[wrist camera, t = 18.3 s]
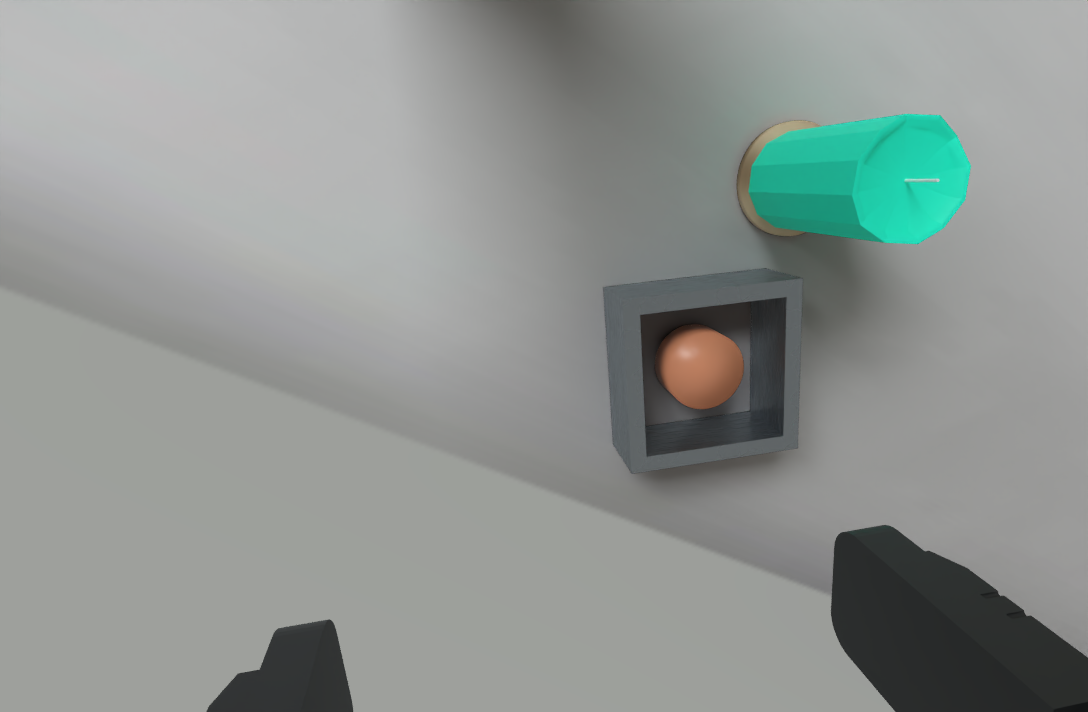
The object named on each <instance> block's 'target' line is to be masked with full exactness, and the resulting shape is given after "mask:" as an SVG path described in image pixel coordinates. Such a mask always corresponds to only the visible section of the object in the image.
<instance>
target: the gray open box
mask: <svg viewBox="0 0 1088 712" xmlns="http://www.w3.org/2000/svg"><path fill="white" fill-rule="evenodd" d="M603 290H604V307H605V323H606V339H607V355H608V371H609V387H610V403H611V419H612V435H613V445H614V447H615V448H616V450H617V451H618V453H619V455H620V456H621V458H622V459H623V461H624V463H625V464H626V466H627V467H628V469H629V470H630V472H631V474H634V473H640V472H647V471H653V470H660V469H666V468H673V467H679V466H686V465H692V464H699V463H705V462H712V461H718V460H725V459H731V458H738V457H744V456H750V455H757V454H763V453H770V452H776V451H783V450H789V449H796V448H798V421H799V388H800V356H801V324H802V291H803V278H800V277H796V276H792V275H789V274H785V273H781V272H778V271H774V270H770V269H767V268H763V269H754V270H746V271H737V272H728V273H720V274H711V275H703V276H694V277H685V278H677V279H668V280H660V281H651V282H643V283H634V284H625V285H617V286H608V287H603ZM749 301H751V363H750V411H747V412H740V413H733V414H726V415H720V416H713V417H706V418H699V419H692V420H685V421H678V422H671V423H664V424H658V425H651V426H645V412H644V390H643V368H642V346H641V324H640V315H643V314H651V313H660V312H668V311H676V310H684V309H692V308H700V307H708V306H717V305H725V304H733V303H741V302H749Z"/></svg>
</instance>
